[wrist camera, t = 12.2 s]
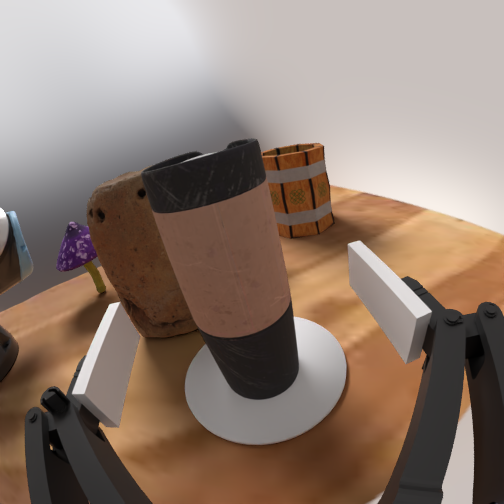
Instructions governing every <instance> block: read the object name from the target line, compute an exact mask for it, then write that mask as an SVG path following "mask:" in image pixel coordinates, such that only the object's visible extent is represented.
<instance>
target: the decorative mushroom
mask: <svg viewBox="0 0 504 504" xmlns="http://www.w3.org/2000/svg"><path fill="white" fill-rule="evenodd" d="M96 257H97V253H96V251H95V249H94V246H93V244H92V241H91V239H90V232H89V227H87V226H84V225H80V224H78V223H76V222H70V223H69V224H68V226H67V230H66V233H65V236H64V239H63V241H62V244H61V248H60V252H59V256H58V259H57V267H56V268H57V269H58V270H59V271H61V272H62V271H69V270H73V269H75V268H78V267H80V266H82V265H84V267H85V268H86V269H87V270H88V272H89V273H90V274H91V276H92V278H93V281H94V283H95V285H96V288H97V291H98V292H99V293H102V292H104V291H105V289H106V286H105V285H104V282H103V280H102V278H101V275H100V273H99V271H98V270H97V268H96V267H95V266H94V264H93V263H92V261H91V260H93V259H94V258H96Z"/></svg>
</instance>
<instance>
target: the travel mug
mask: <svg viewBox="0 0 504 504" xmlns="http://www.w3.org/2000/svg"><path fill="white" fill-rule="evenodd" d="M141 177H142V181H143V184H144V187H145V190H146V194H147V197H148V200H149V203H150V206H151V209H152V212H153V215H154V218H155V221H156V224H157V227H158V229H159V232H160V235H161V238H162V241H163V243H164V246H165V249H166V252H167V254H168V257H169V260H170V262H171V265H172V268H173V270H174V273H175V275H176V278H177V280H178V283H179V285H180V288H181V290H182V293H183V295H184V298H185V300H186V302H187V305H188V307H189V309H190V312H191V314H192V316H193V319H194V321H195V323H196V325H197V327H198V329H199V331H200V333H201V335H202V337H203V339H204V341H205V343H206V345H207V347H208V348H209V350H210V352H211V354H212V356H213V358H214V360H215V362H216V363H217V365H218V367H219V369H220V371H221V372H222V374H223V376H224V378H225V379H226V381H227V383H228V384H229V386H230V387H231V389H232V390H233V391H234V392H235V393H237V394H238V395H240V396H242V397H244V398H247V399H252V400H264V399H269V398H272V397H275V396H278V395H280V394H281V393H283V392H284V391H286V390H287V389H288V388H289V387H290V386H291V385H292V384H293V383H294V381H295V380H296V378H297V375H298V372H299V358H298V348H297V340H296V332H295V324H294V316H293V308H292V301H291V294H290V288H289V283H288V277H287V272H286V267H285V262H284V257H283V252H282V247H281V242H280V237H279V232H278V227H277V223H276V218H275V213H274V208H273V204H272V199H271V195H270V190H269V186H268V181H267V177H266V172H265V168H264V163H263V159H262V154H261V150H260V147H259V143H258V141H257V139H244V140H238V141H234V142H231V143H229V145H228V146H227V148H226V149H225V150H223V151H220V152H216V153H210V154H202V153H200V152H189V153H186V154H183V155H179V156H176V157H174V158H170V159H168V160H165V161H163V162H160V163H158V164H155V165H153V166H150V167H148V168H146V169H145V170H143V171H142V172H141Z"/></svg>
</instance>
